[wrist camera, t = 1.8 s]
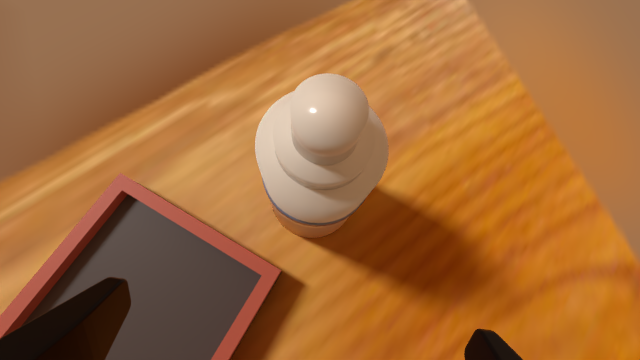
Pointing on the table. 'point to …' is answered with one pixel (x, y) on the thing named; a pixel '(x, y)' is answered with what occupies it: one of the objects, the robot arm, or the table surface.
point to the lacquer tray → (154, 278)
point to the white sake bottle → (320, 154)
